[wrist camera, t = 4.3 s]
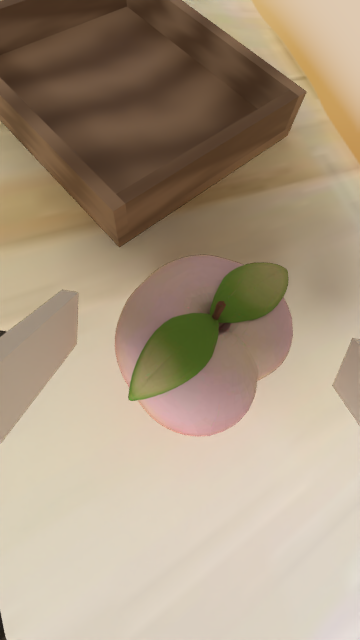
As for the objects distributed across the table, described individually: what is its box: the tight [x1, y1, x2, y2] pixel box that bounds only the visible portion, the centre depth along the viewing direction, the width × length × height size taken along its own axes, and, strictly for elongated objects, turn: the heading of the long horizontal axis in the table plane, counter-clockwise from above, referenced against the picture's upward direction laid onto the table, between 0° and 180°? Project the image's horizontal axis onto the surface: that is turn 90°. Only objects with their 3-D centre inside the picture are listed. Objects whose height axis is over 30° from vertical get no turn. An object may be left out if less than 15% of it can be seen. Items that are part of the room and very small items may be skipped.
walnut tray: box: [0, 0, 306, 247], centre depth 28 cm, size 24×20×4 cm
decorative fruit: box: [115, 255, 293, 436], centre depth 16 cm, size 9×8×10 cm
